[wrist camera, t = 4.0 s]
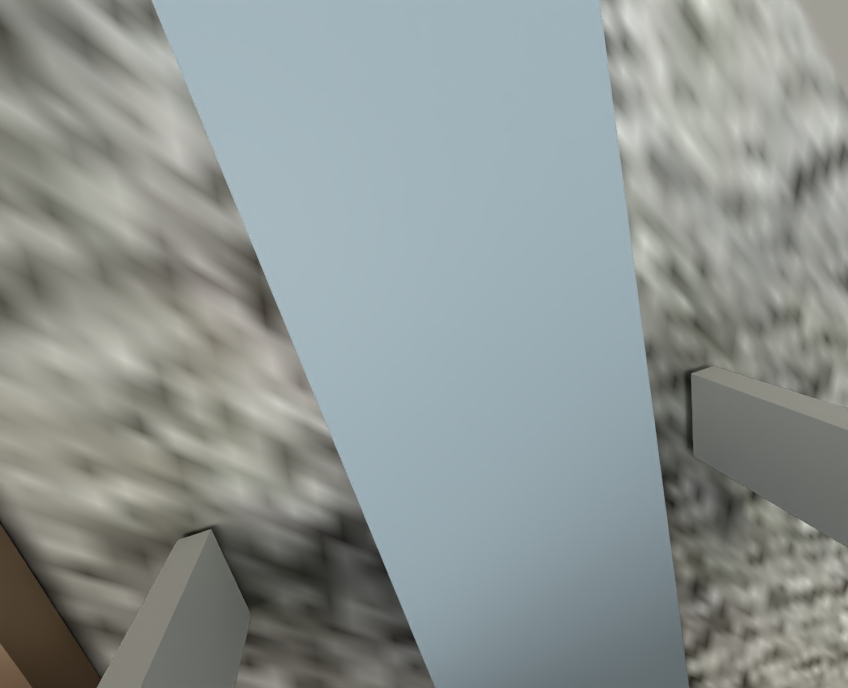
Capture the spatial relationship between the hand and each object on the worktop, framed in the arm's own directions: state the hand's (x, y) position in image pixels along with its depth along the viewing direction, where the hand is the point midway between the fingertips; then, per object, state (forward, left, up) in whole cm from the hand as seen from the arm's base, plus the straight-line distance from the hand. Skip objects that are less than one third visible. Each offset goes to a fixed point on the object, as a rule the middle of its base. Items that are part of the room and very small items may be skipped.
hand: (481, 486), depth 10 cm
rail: (0, 0, 0) cm, 1 cm away
